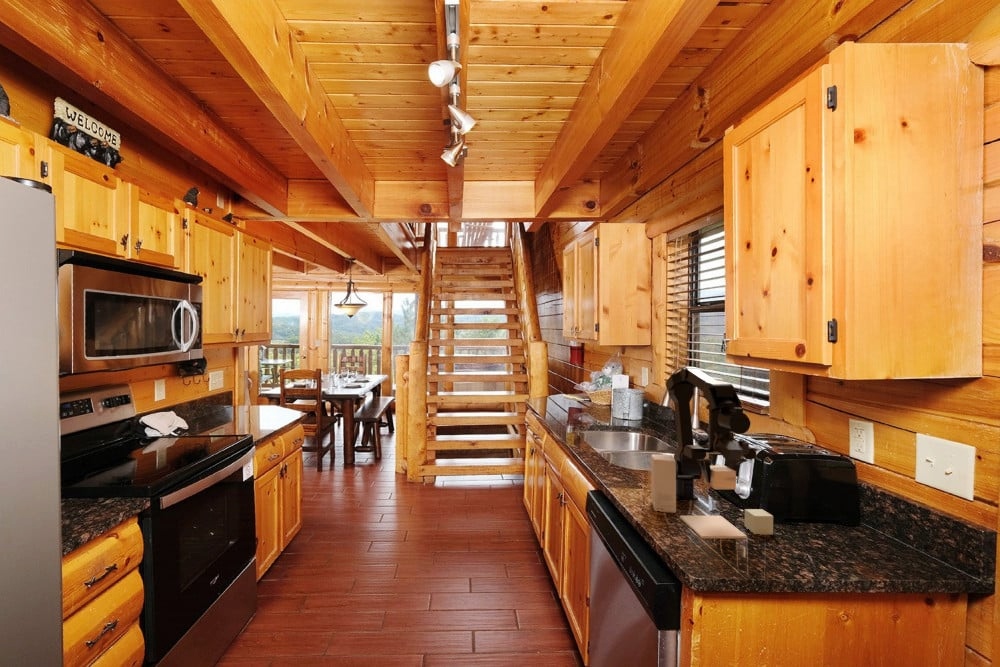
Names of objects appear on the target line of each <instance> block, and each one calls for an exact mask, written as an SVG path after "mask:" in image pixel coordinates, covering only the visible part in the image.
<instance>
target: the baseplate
mask: <svg viewBox="0 0 1000 667" xmlns="http://www.w3.org/2000/svg"><path fill="white" fill-rule="evenodd" d="M679 518H680V520H682V521H683V522H684V523H685V524H686V525H687V527H689V528H690V529H691V530H692V529H693V530H694V531H695V532H696V533H695V532H694V531H693V530H692V531H693V532H694V533H695V534H697V535H698V537H699V538H701V539H747V538H748V536H747V535H746V534H745V533H743V532H742V531H741V530H740V529H738V528H737V527H736V526H735V525H733V524H732V523H731V522H729V521H728V520H727V519H726V518H724V517H723V516H722V515H679Z"/></svg>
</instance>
